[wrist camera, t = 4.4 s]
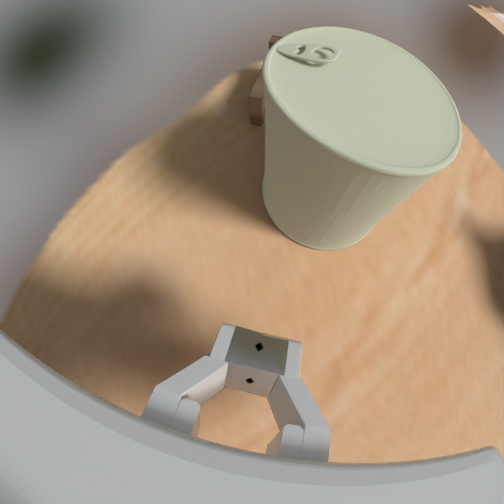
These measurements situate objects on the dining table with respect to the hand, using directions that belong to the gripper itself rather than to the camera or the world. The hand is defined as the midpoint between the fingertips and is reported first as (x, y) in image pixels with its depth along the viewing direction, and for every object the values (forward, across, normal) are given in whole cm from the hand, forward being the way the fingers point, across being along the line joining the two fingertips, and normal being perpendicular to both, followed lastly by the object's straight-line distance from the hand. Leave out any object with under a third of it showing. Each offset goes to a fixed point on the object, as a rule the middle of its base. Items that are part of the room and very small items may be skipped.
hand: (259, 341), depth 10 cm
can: (+14, -2, -2) cm, 14 cm away
